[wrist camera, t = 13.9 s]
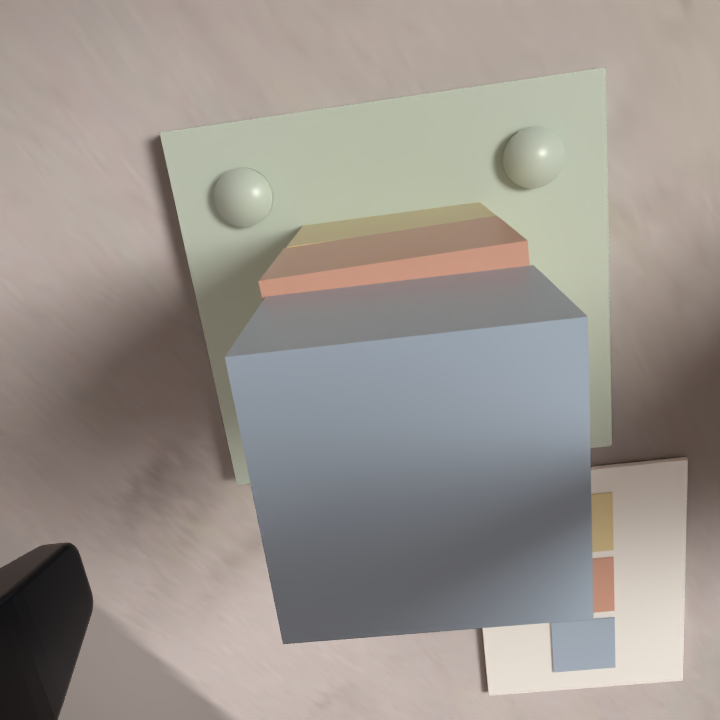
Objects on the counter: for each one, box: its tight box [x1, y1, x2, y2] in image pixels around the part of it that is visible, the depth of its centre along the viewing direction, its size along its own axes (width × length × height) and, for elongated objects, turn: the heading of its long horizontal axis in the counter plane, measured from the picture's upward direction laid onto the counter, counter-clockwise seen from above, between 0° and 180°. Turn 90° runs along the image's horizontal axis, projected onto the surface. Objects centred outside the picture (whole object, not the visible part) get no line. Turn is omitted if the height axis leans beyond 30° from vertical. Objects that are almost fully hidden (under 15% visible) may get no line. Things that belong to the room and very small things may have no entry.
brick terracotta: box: [259, 216, 530, 300], centre depth 15 cm, size 5×5×4 cm
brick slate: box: [225, 265, 594, 644], centre depth 12 cm, size 5×5×4 cm
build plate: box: [160, 67, 612, 485], centre depth 19 cm, size 12×11×4 cm
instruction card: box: [482, 457, 688, 696], centre depth 24 cm, size 7×9×1 cm
